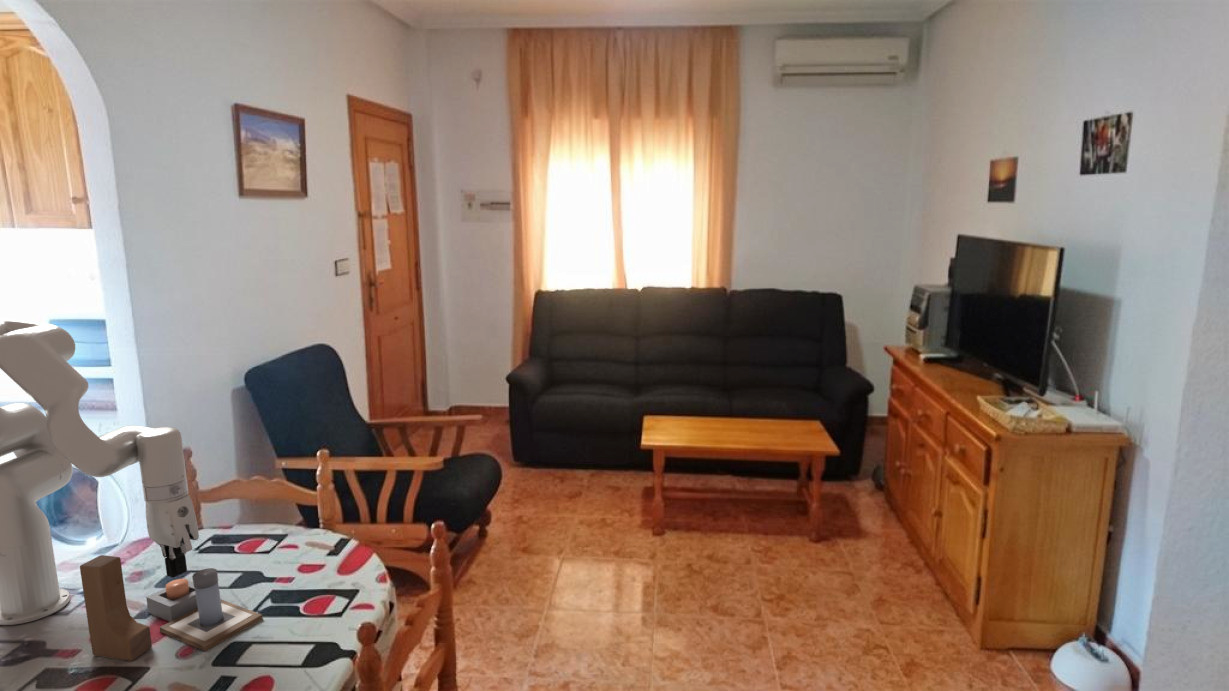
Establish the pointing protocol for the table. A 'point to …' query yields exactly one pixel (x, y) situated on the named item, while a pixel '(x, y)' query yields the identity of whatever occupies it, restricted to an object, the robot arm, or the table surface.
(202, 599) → the grey capped shaker
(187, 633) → the picture frame
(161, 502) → the robot arm
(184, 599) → the button housing
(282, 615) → the table surface
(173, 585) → the button
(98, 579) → the wooden block
